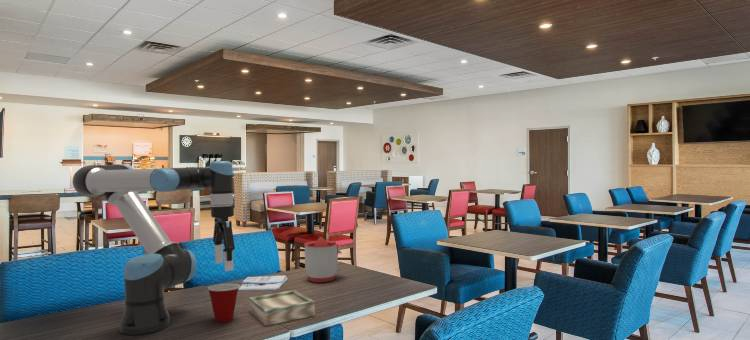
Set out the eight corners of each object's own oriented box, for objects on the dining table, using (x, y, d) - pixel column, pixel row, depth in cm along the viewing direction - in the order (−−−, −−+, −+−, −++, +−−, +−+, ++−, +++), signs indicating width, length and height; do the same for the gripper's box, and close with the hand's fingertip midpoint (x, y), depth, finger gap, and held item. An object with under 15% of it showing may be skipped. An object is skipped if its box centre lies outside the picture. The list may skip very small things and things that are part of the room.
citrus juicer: (345, 282, 206) (344, 238, 206) (306, 285, 202) (305, 240, 201) (338, 274, 221) (338, 233, 221) (302, 277, 217) (302, 235, 216)
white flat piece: (288, 279, 215) (288, 274, 215) (278, 291, 195) (278, 286, 195) (248, 279, 216) (248, 275, 216) (233, 292, 196) (233, 287, 195)
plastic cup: (245, 314, 164) (244, 281, 164) (233, 325, 153) (232, 290, 153) (216, 314, 165) (215, 281, 165) (202, 324, 155) (201, 289, 154)
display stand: (265, 325, 153) (265, 311, 153) (249, 311, 168) (249, 297, 168) (314, 315, 162) (314, 301, 162) (295, 302, 178) (295, 289, 178)
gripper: (243, 207, 150) (245, 271, 150) (224, 202, 171) (225, 258, 171) (219, 209, 146) (221, 275, 146) (203, 203, 167) (205, 261, 168)
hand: (224, 266), depth 159 cm, fingers open, 13 cm apart
